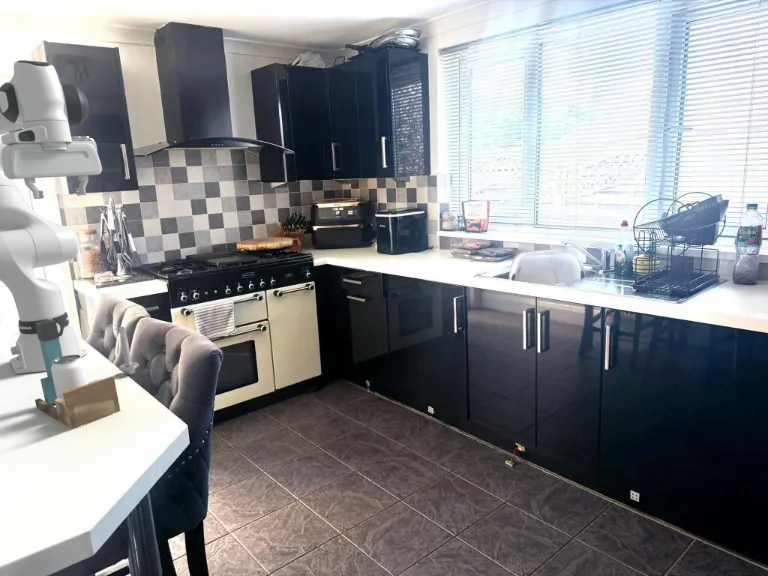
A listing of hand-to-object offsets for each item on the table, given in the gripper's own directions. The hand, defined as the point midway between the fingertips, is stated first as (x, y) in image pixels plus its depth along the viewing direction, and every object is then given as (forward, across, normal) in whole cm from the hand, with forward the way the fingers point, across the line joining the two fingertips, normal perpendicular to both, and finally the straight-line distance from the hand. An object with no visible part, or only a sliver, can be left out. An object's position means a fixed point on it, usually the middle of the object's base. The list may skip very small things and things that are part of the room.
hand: (61, 197), depth 125 cm
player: (+47, +10, +2) cm, 48 cm away
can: (+47, +10, +10) cm, 49 cm away
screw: (+47, -9, 0) cm, 48 cm away
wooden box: (+47, +10, +10) cm, 49 cm away
